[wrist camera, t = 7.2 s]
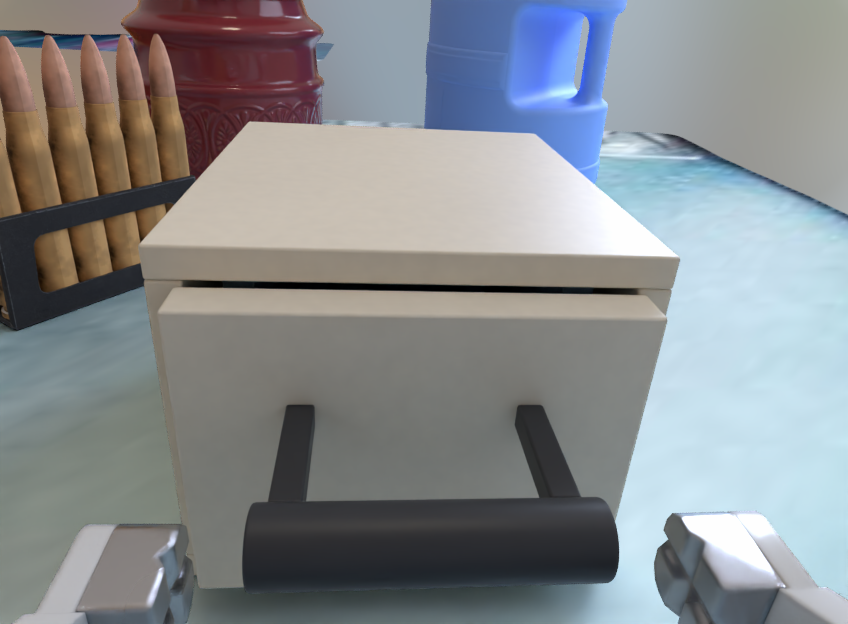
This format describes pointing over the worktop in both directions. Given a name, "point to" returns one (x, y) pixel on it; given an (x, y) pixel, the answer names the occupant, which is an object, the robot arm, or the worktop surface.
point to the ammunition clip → (83, 178)
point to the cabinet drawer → (405, 431)
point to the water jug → (521, 71)
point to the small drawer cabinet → (394, 221)
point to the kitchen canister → (232, 66)
